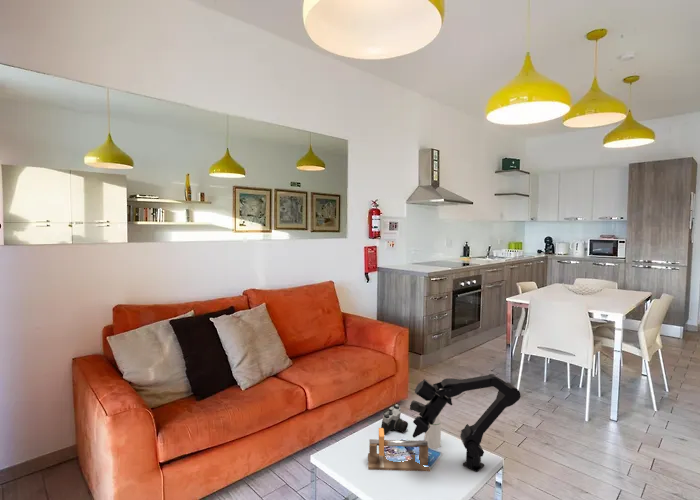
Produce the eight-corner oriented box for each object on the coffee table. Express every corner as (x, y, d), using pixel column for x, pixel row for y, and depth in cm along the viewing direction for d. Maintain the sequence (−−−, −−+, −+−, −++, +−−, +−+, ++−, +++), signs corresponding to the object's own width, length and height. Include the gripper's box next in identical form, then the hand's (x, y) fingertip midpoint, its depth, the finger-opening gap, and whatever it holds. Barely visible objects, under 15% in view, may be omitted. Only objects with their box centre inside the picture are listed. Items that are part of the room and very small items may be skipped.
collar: (383, 446, 164) (383, 428, 163) (384, 455, 157) (384, 436, 156) (378, 446, 164) (378, 427, 164) (379, 455, 157) (379, 436, 157)
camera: (397, 442, 179) (401, 422, 178) (377, 431, 185) (380, 412, 183) (409, 429, 192) (413, 410, 190) (390, 419, 197) (394, 401, 196)
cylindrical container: (439, 440, 178) (440, 387, 177) (441, 449, 171) (442, 393, 170) (423, 439, 179) (424, 386, 178) (425, 448, 172) (426, 393, 171)
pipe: (426, 445, 161) (426, 439, 161) (427, 448, 158) (427, 442, 158) (369, 443, 162) (369, 437, 162) (369, 447, 159) (369, 441, 159)
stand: (426, 457, 165) (426, 437, 164) (430, 471, 155) (430, 450, 154) (368, 455, 166) (368, 436, 165) (368, 469, 156) (368, 449, 155)
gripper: (423, 390, 171) (403, 418, 171) (414, 396, 154) (392, 427, 154) (444, 407, 166) (423, 436, 167) (437, 416, 149) (414, 448, 150)
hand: (413, 436), depth 160 cm, fingers closed
